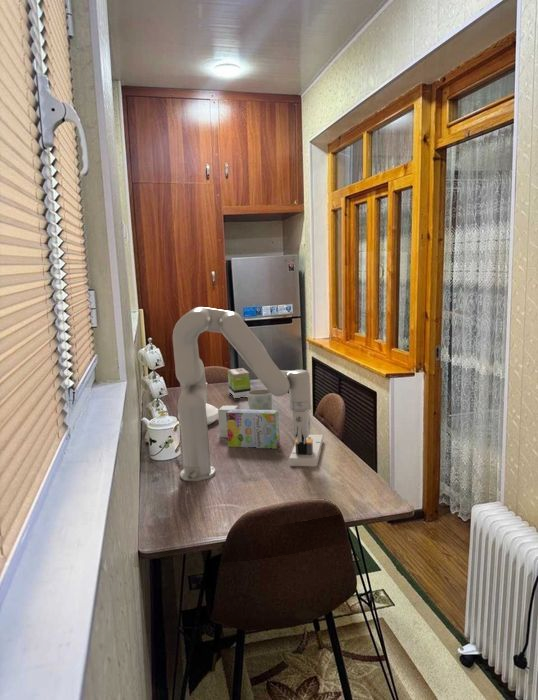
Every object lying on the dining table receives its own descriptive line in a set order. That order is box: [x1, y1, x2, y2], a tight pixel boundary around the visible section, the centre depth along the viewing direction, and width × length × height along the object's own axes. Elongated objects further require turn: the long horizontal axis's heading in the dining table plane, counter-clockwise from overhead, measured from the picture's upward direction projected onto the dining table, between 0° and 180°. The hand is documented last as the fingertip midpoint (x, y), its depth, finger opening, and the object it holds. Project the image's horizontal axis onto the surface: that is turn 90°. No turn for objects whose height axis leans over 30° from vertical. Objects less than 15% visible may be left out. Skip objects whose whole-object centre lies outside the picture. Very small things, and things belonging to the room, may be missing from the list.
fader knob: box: [294, 438, 313, 454], centre depth 185 cm, size 4×6×5 cm, turn 79°
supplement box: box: [218, 405, 239, 438], centre depth 219 cm, size 7×7×13 cm
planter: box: [247, 388, 273, 410], centre depth 251 cm, size 12×12×11 cm
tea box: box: [227, 367, 252, 399], centre depth 288 cm, size 15×10×15 cm, turn 17°
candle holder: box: [177, 381, 219, 426], centre depth 239 cm, size 20×20×19 cm
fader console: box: [289, 434, 324, 467], centre depth 193 cm, size 26×10×3 cm, turn 169°
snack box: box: [226, 408, 281, 450], centre depth 203 cm, size 21×6×15 cm, turn 74°
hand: (302, 453), depth 179 cm, fingers closed
